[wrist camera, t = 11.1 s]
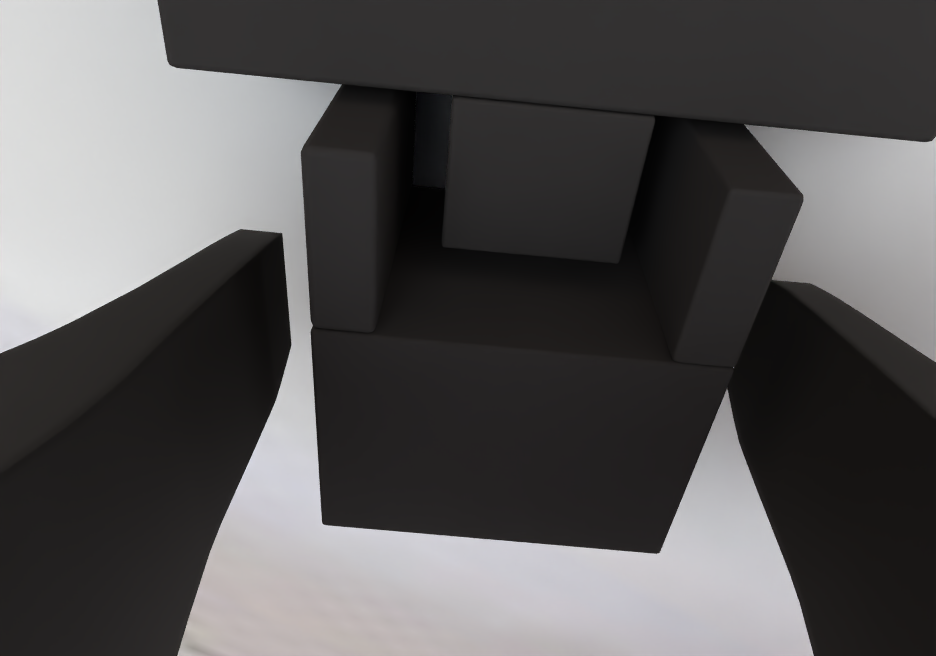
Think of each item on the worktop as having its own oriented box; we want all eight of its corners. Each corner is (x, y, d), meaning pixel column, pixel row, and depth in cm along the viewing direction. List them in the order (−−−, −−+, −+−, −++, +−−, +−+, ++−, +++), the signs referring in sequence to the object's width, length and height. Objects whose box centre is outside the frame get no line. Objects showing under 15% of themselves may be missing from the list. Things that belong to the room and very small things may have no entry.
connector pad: (619, 372, 14) (660, 555, 10) (367, 349, 14) (321, 526, 10) (704, 73, 11) (808, 196, 7) (367, 39, 10) (297, 146, 7)
